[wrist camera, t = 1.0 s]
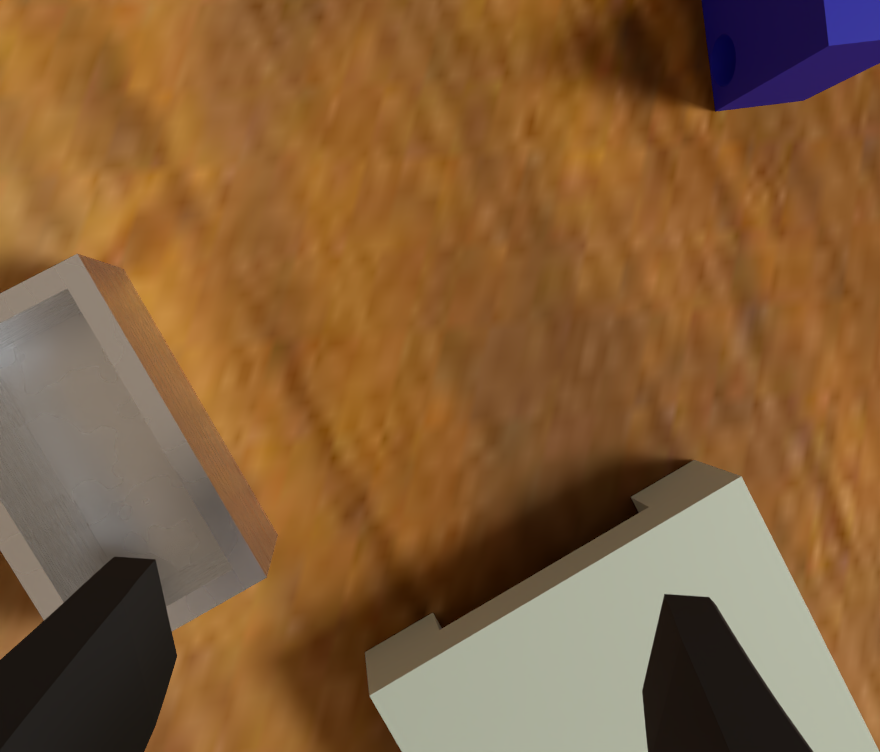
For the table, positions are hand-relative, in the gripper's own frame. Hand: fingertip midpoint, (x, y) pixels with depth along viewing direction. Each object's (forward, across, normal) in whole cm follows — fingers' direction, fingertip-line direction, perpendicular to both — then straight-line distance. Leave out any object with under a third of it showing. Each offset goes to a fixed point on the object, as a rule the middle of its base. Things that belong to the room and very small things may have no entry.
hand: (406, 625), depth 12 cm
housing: (+10, +9, +5) cm, 15 cm away
